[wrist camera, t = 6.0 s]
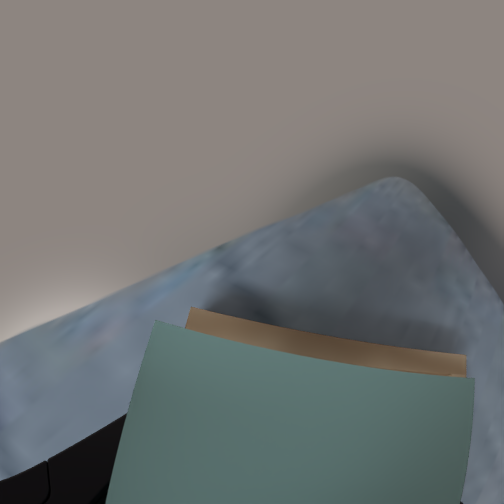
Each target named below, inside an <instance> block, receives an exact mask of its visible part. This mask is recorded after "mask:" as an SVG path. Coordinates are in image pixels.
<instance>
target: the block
mask: <svg viewBox="0 0 504 504" xmlns="http://www.w3.org/2000/svg"><path fill="white" fill-rule="evenodd" d="M474 383H475V378H464V377H451V376H439V375H429V374H419V373H410V372H402V371H393V370H386V369H378V368H371V367H365V366H358V365H352V364H345V363H339V362H333V361H328V360H322V359H316V358H311V357H306V356H301V355H295V354H290V353H286V352H281V351H276V350H271V349H267V348H262V347H258V346H253V345H249V344H244V343H240V342H236V341H232V340H228V339H224V338H220V337H216V336H212V335H208V334H204V333H200V332H196V331H193V330H189V329H185V328H182V327H178V326H174V325H171V324H167V323H164V322H160V321H157V320H155V323H154V326H153V329H152V332H151V335H150V339H149V342H148V345H147V348H146V351H145V354H144V358H143V361H142V364H141V367H140V371H139V374H138V377H137V381H136V384H135V388H134V391H133V395H132V398H131V402H130V405H129V409H128V412H127V416H126V420H125V423H124V427H123V431H122V435H121V439H120V443H119V447H118V451H117V455H116V459H115V463H114V467H113V472H112V476H111V480H110V485H109V489H108V494H107V499H106V503H105V504H460V500H461V496H462V491H463V486H464V481H465V475H466V470H467V463H468V457H469V449H470V441H471V432H472V421H473V407H474Z"/></svg>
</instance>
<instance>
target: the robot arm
mask: <svg viewBox="0 0 504 504" xmlns="http://www.w3.org/2000/svg"><path fill="white" fill-rule="evenodd" d="M126 416H127V413H126V414H125V415H123V416H122V417H120V418H118V419H117V420H115V421H113V422H112V423H110V424H108V425H107V426H105V427H103V428H102V429H100V430H98V431H97V432H95V433H93V434H92V435H90V436H88V437H86V438H85V439H83V440H81V441H80V442H78V443H76V444H74V445H73V446H71V447H69V448H67V449H65V450H64V451H62V452H60V453H58V454H56V455H55V456H53V457H51V458H49V459H48V462H47V461H43V462H41V463H40V464H38V465H36V466H34V467H32V468H30V469H28V470H26V471H24V472H21V473H19V474H17V475H15V476H12V477H10V478H7V479H4V480H2V481H0V504H105V503H106V499H107V494H108V489H109V485H110V480H111V476H112V472H113V467H114V463H115V459H116V455H117V451H118V447H119V443H120V439H121V435H122V431H123V427H124V423H125V420H126ZM460 504H463V503H462V502H461V501H460Z"/></svg>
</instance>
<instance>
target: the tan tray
mask: <svg viewBox="0 0 504 504" xmlns="http://www.w3.org/2000/svg"><path fill="white" fill-rule="evenodd" d="M185 329H189V330H193V331H196V332H200V333H204V334H208V335H212V336H216V337H220V338H224V339H228V340H232V341H236V342H240V343H244V344H249V345H253V346H258V347H262V348H267V349H271V350H276V351H281V352H286V353H290V354H295V355H301V356H306V357H311V358H316V359H322V360H328V361H333V362H339V363H345V364H352V365H358V366H365V367H371V368H378V369H386V370H393V371H402V372H410V373H419V374H429V375H439V376H451V377H464V378H466V355H461V354H451V353H442V352H433V351H425V350H417V349H410V348H402V347H395V346H388V345H381V344H375V343H368V342H362V341H356V340H350V339H344V338H338V337H332V336H326V335H321V334H315V333H310V332H305V331H299V330H294V329H289V328H284V327H279V326H274V325H269V324H265V323H260V322H255V321H251V320H246V319H241V318H237V317H233V316H228V315H224V314H219V313H215V312H211V311H207V310H203V309H199V308H194V307H191V309H190V312H189V316H188V319H187V323H186V327H185Z"/></svg>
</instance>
